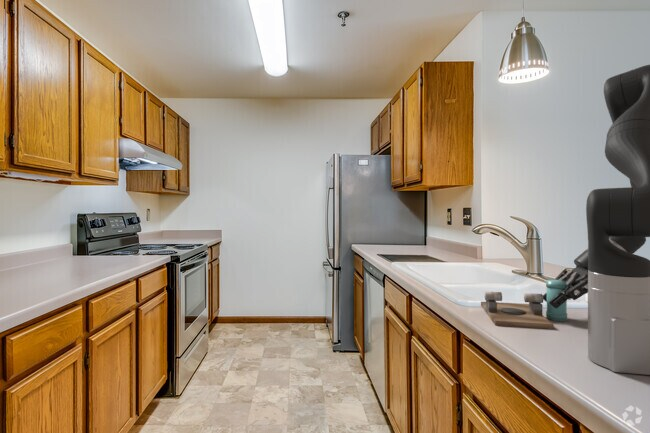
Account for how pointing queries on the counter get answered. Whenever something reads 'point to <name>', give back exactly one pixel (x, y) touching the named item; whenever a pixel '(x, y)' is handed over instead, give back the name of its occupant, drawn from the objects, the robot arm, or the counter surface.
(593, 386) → the counter surface
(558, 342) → the counter surface
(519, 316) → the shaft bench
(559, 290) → the cylinder
